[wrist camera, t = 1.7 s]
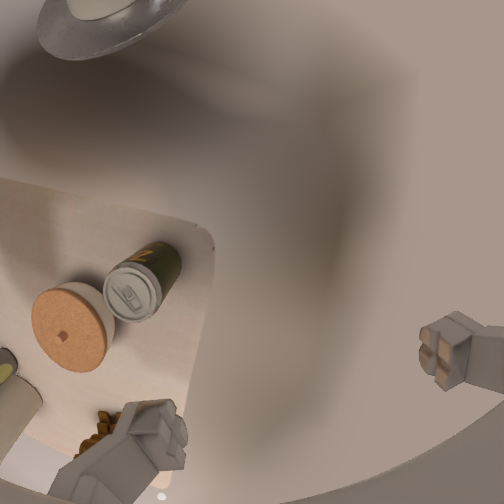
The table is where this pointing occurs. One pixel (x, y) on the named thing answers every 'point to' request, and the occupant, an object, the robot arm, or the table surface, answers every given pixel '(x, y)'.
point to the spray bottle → (6, 365)
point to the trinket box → (73, 326)
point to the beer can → (141, 282)
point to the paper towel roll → (15, 410)
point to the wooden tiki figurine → (99, 431)
